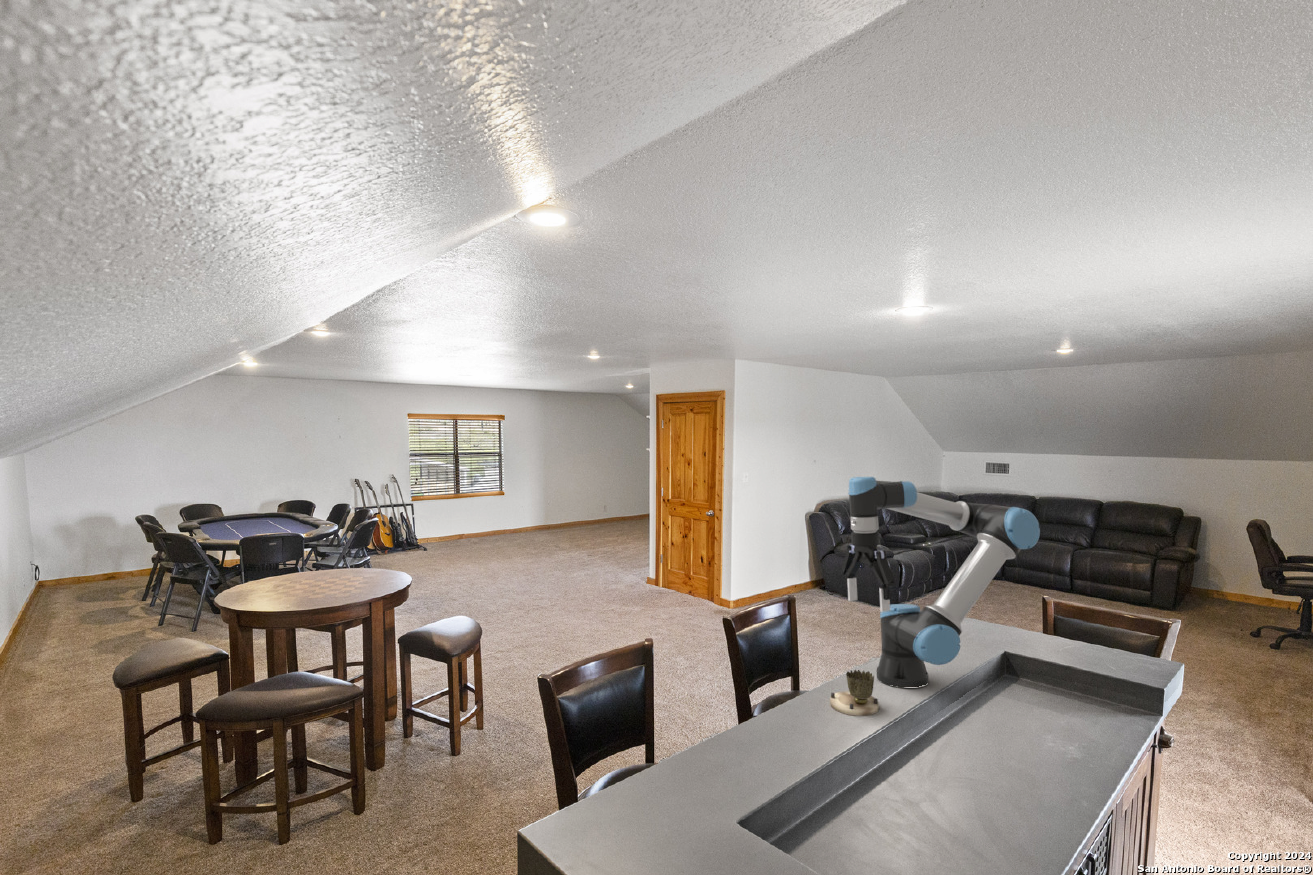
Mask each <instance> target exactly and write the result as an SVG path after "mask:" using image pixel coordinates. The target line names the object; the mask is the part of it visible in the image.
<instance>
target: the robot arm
mask: <svg viewBox="0 0 1313 875" xmlns="http://www.w3.org/2000/svg"><path fill="white" fill-rule="evenodd" d="M848 498H849V513H850V515H849V516H850V530H852V531H851V532H850V537H851V544H849V545H848V544H847V545H846V553H845V557H844V560H843V564H842V567H841V571H840V573H841V575H843V576H844V577H845V579H846V587H847V599H848V602H853V601H858V585H857V583H858V582H857V576H856V575H857V572H858V570H859V569H860V568H861V566H862V565H863V564H864V565H866V566H868V567H869V568H870V569H871V571H873V574H874V576H875V577H876V579H877V581H878V583H879V585H880V587H879V608H880V609H879V610H880V616H879V619H880V638H881V640H880V641H881V655H880V658H879V662H878V666H877V667H876V679H877V680H878V682H880V681H881V682H880V683H882V684H884V685H886V686H887V685H888V686H890V685H893V686H898V687H897V688H899V687H919V686H922V685H926V684H927V683H928V682H929V681H930V680H929V672H928V670H927V668H926V665H925V662H926V663H929V664H932V665H935V666H940V665H941V666H942V665H946V664H949V663H951V662H952V661H954V659H956V658H957V656H958V655H959V652H960V650H961V645H960V644H961V642H962V641H961V637H960V635H961V634H962V633H963V630H962V629H963V628H962V626H961V624H962V623H963V621H964V619H965V618H966V617H967V616H968V614H969V613H970V611H971V610H972V608H973V607H974V606H975V604H976V603H977V601H978V600H979V599H980V597H981V596H982V594H983V593H984V592H985V590H986V589H987V588H988V586H989V585H990V583H991V582H992V580H993V579H994V578H995V576H996V575H997V574H998V572H999V571H1000V569H1001V568H1002V566H1004V564H1005V562H1006V560H1014V559H1015V558H1016V557H1017V555H1018V554H1019V553H1020V551H1021V550H1028V549H1032V548H1033V547H1035V545H1037V543H1038V541H1039V539H1040V534H1041V529H1040V523H1039V520H1038V519H1037V517H1036V516H1035V515H1034V514H1033V512H1031V511H1030V510H1028V509H1025V508H1021V507H1017V506H1003V505H997V504H987V503H986V504H985V503H984V504H983V503H974V502H973V503H972V502H967V501H963V500H959V501H956V502H955V501H951V500H946V499H945V498H944V499H943V498H940V497H936V496H933V495H928V494H925V493H922V492H918V491H917V487H916V485H915V484H914V483H913V482H912V481H910V480H909V481H907V480H906V481H903V480H899V481H889V480H888V481H887V480H877V479H876V477H874V476H855V477H851V478H850V479H849V480H848ZM882 509H884V510H885V509H887V510H890V511H895V512H898V513H901V514H905V515H908V516H913V517H917V518H920V519H923V520H928V521H930V522H934V523H939V524H942V525H946V526H949V528H950V529H951V530H953V531H957V532H960V533H962V534H966V535H968V536H971V537H973V538H975V539H977V544H976V546H974V548H973V550H972V551H971V552H970V554H969V555H968V556H967V557H966V559H965V560H964V562H963V563H962V565H961V566H960V567H959V568H958V570H957V571H956V573H955V574H954V576H953V577H952V578H951V580H950V581H949V582H948V584H947V585H946V587H945V588H944V589H943V590H942V591H941V594H940V595H939V596H938V597H937V599H936V600H935V601H934V603H933V604H931V605H930V604H929V605H925V606H924V607H923V608H922V610H921V608H920V606H919V605H917V604H911V603H910V604H909V603H908V604H907V603H896V604H893V603H892V604H891V601H890V600H891V588H892V587H896V586H897V582H896V581H895V580H896V579H895V577H894V574H893V572H892V569H891V566H890V564H889V562H888V559H887V553H886V551H885V550H878V546H879V545H880V534H879V532H878V530H879V529H880V528H879V527H880V526H879V514H878V513H879V512H878V510H882ZM928 684H929V683H928ZM893 686H892V687H893ZM926 686H927V685H926Z"/></svg>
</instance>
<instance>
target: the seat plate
mask: <svg viewBox="0 0 1313 875" xmlns="http://www.w3.org/2000/svg"><path fill="white" fill-rule="evenodd" d="M829 700H830V702H829V705H830V707H831V708H832V709H833V710H835V711H837V712H839V713H841V714H845V715H849V716H857V717H858V716H859V717H862V716H863V717H864V716H870V715H874V714H875V713H877V712H878V711H879V701H878V698H876V697H874V696H873V695H871V696H870V697H869V698H868V702H867V704H864V705H860V704H857V703H855V701H854V697H853V696H852V695H851V694H850V692H849V690H848V691H839V692H831V693H830V697H829Z"/></svg>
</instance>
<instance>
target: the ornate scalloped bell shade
mask: <svg viewBox="0 0 1313 875" xmlns="http://www.w3.org/2000/svg"><path fill="white" fill-rule="evenodd" d="M845 676H846V681H847V682H846V683H847V689H848V691H849V692H850V694H851V695H852V696H853V697H854V701H855V703H857V704H860V705H864V704H867V702H868V698H869V697H870V696H873V695H872V694H873V691H874V682H875V675H873V673H872V672H870V671H869V670H868V671H866V672H865V669H864V670H862V671H861V670H860V669H857V670H856V669H854V670H850V671H848V670H847V671H846V673H845Z"/></svg>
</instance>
